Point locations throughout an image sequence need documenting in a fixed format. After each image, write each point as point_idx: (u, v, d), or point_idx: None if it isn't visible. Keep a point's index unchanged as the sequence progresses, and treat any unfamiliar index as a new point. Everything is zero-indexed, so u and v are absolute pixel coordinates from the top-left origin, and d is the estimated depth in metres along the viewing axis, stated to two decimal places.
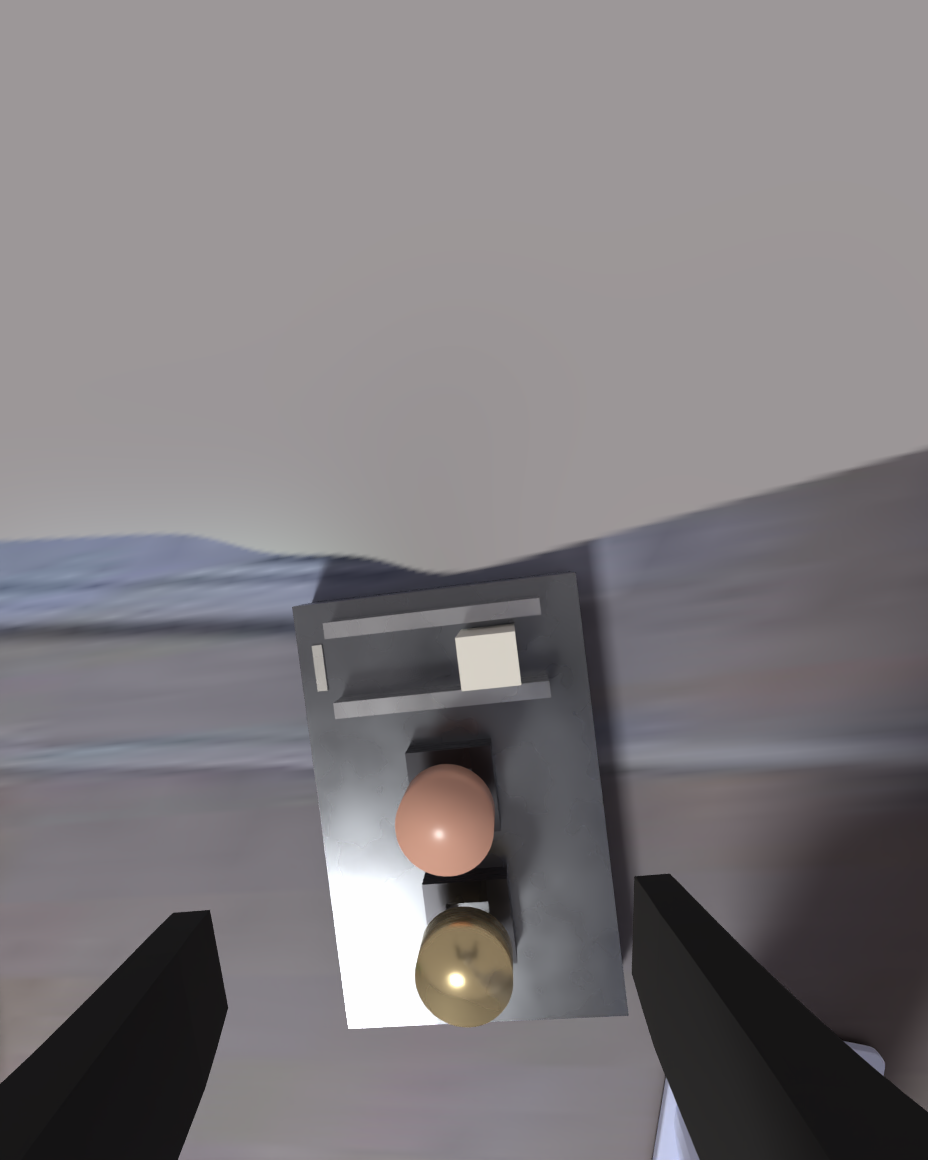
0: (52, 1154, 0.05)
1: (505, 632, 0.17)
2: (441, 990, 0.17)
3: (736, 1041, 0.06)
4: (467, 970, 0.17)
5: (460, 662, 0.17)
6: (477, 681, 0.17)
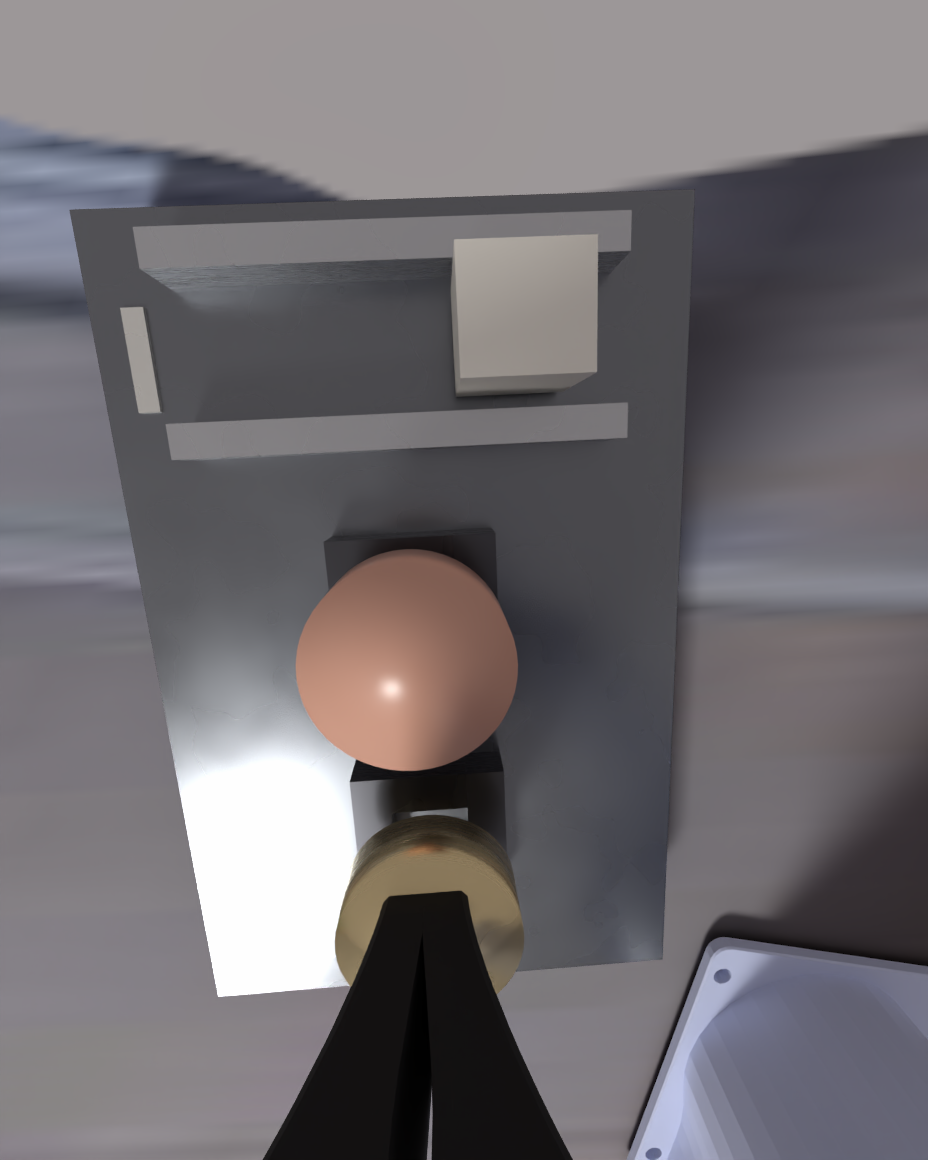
0: (399, 1122, 0.05)
1: (574, 237, 0.07)
2: None
3: None
4: None
5: (462, 305, 0.07)
6: (498, 357, 0.08)
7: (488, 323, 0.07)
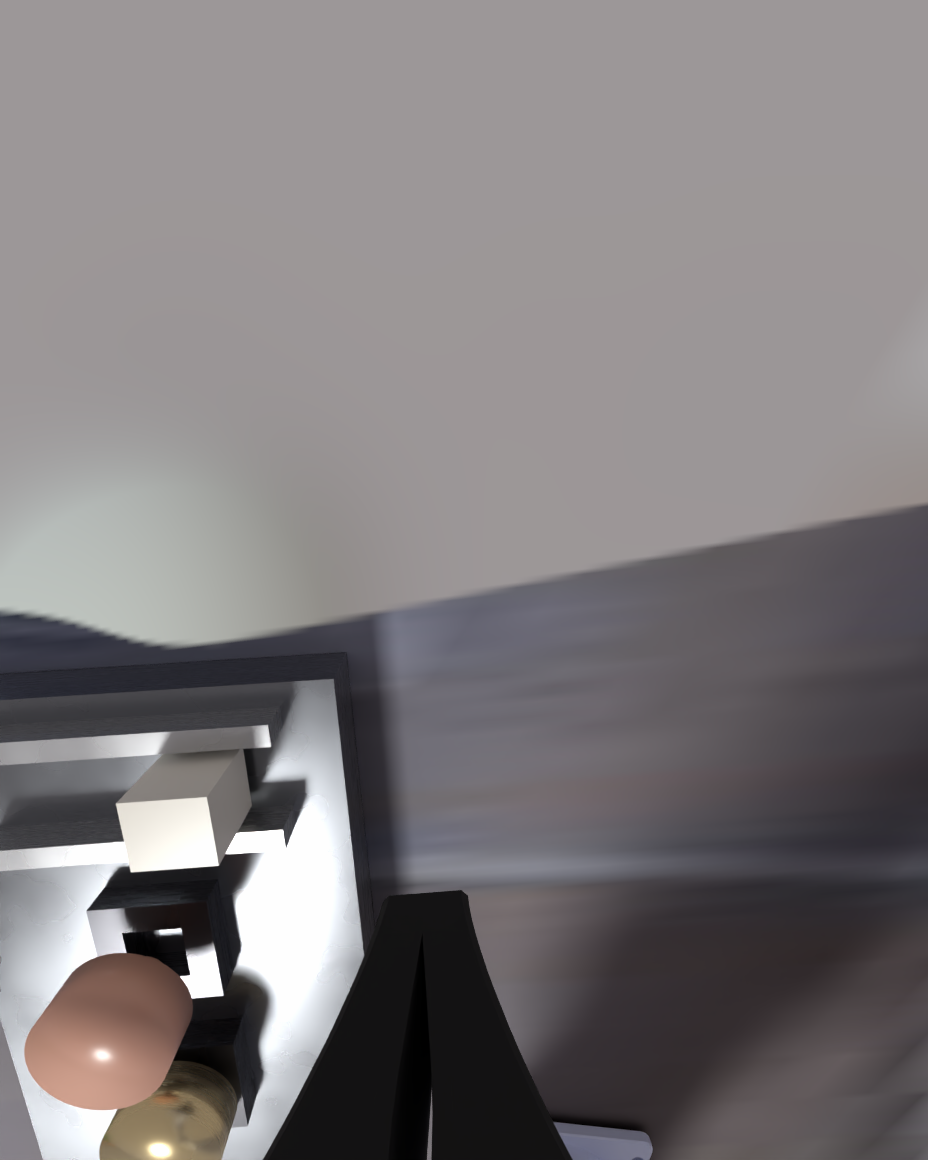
0: (399, 1122, 0.05)
1: (194, 797, 0.12)
2: None
3: None
4: (165, 1146, 0.14)
5: (126, 835, 0.12)
6: (154, 859, 0.12)
7: (144, 844, 0.12)
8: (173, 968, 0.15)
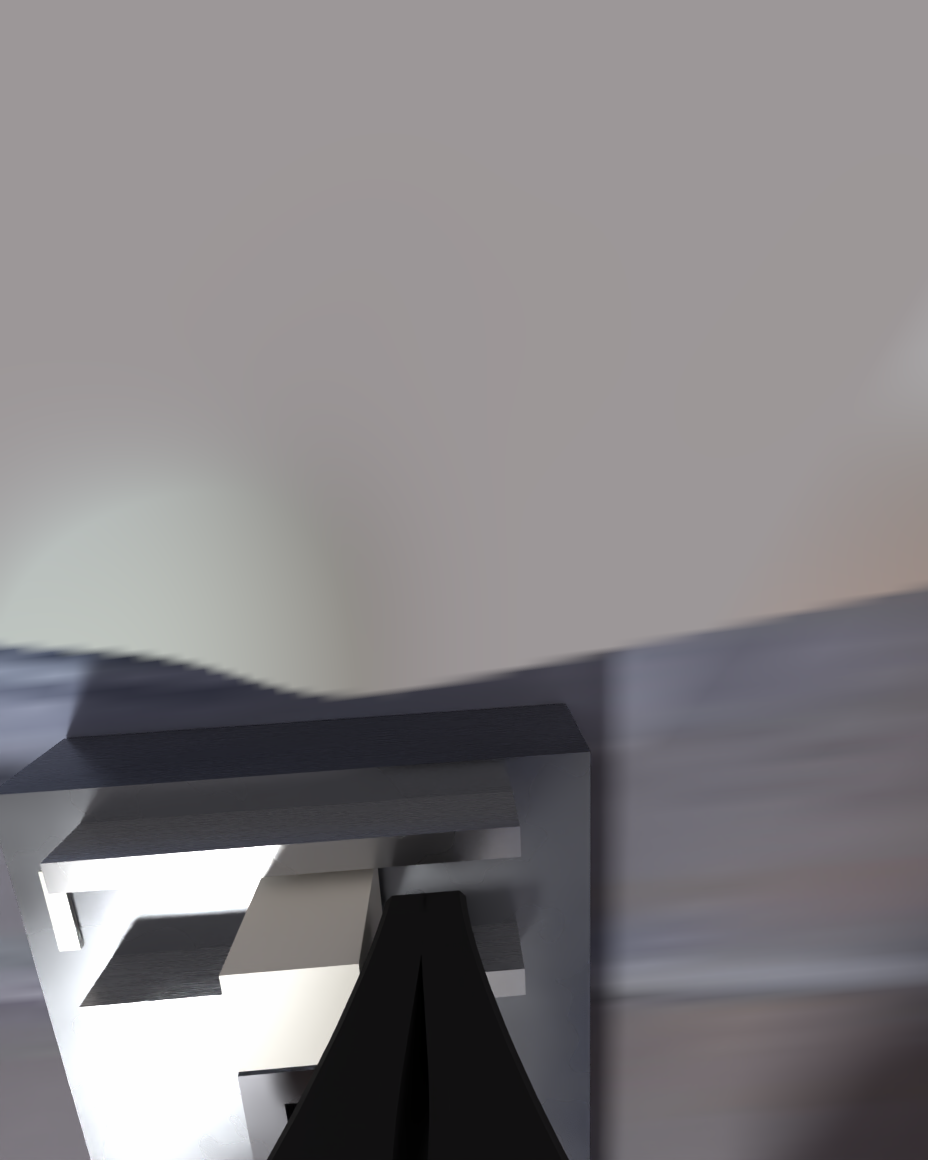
0: (403, 1121, 0.05)
1: (338, 963, 0.08)
2: None
3: None
4: None
5: (233, 1020, 0.08)
6: (273, 1053, 0.08)
7: (259, 1032, 0.08)
8: None
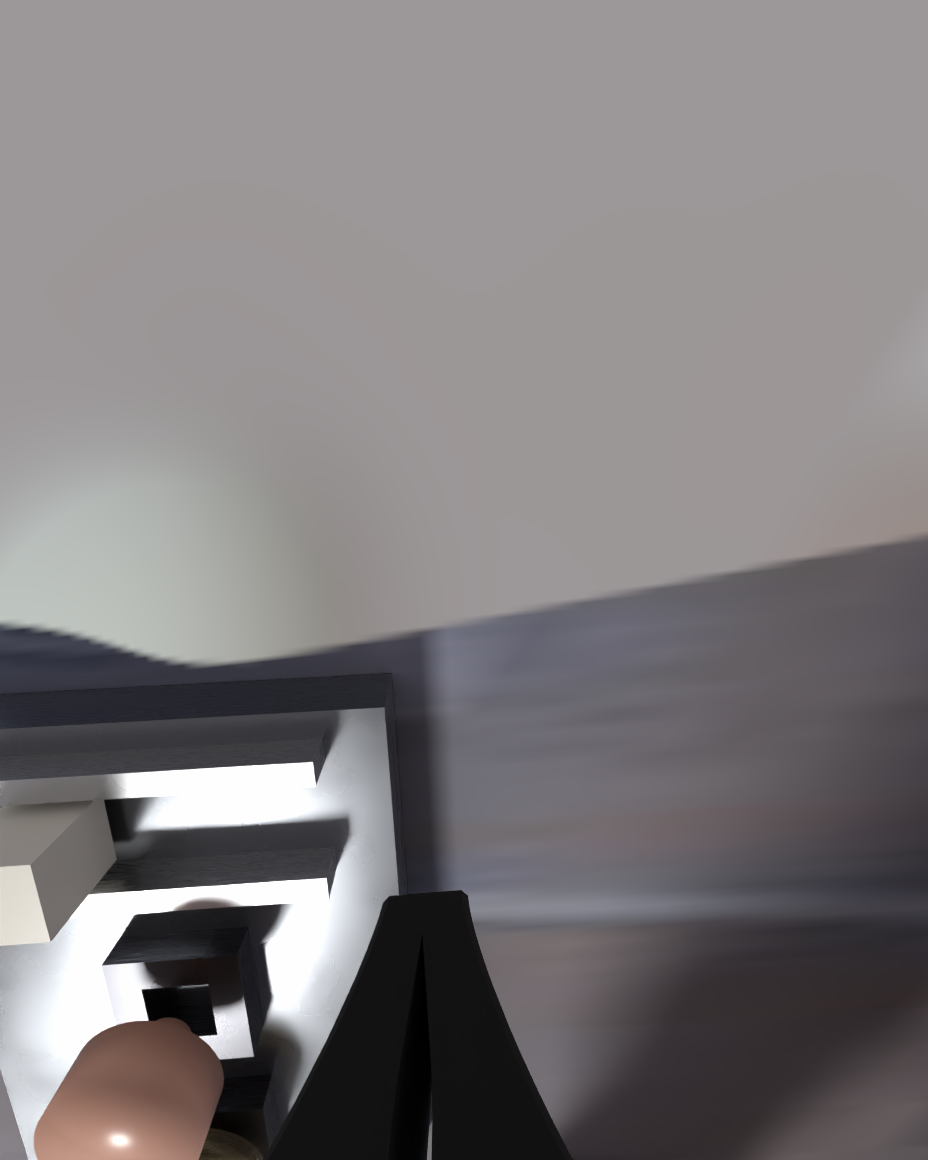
0: (399, 1121, 0.05)
1: (15, 864, 0.10)
2: None
3: None
4: None
5: None
6: None
7: None
8: (197, 1025, 0.13)
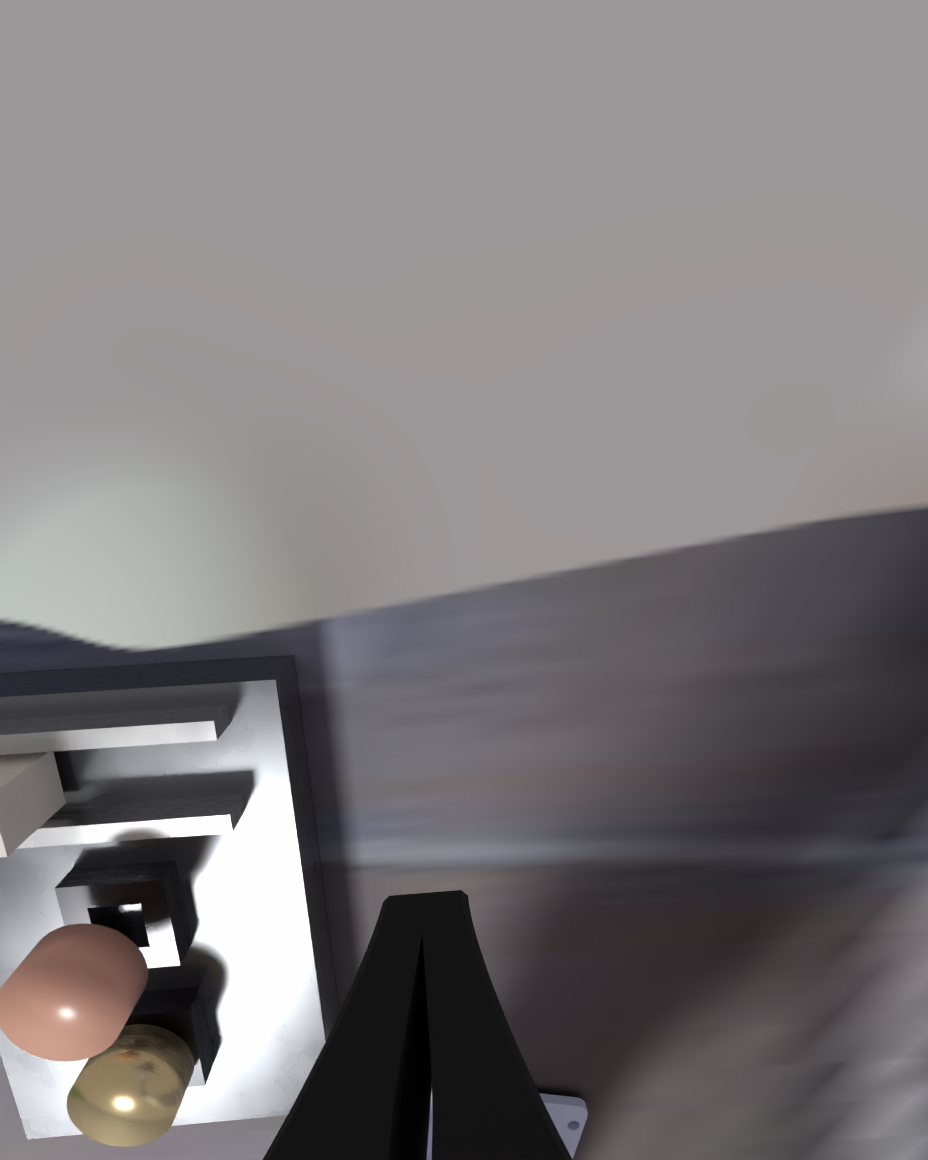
0: (399, 1121, 0.05)
1: None
2: (98, 1118, 0.16)
3: None
4: (125, 1099, 0.16)
5: None
6: None
7: None
8: (135, 940, 0.17)
